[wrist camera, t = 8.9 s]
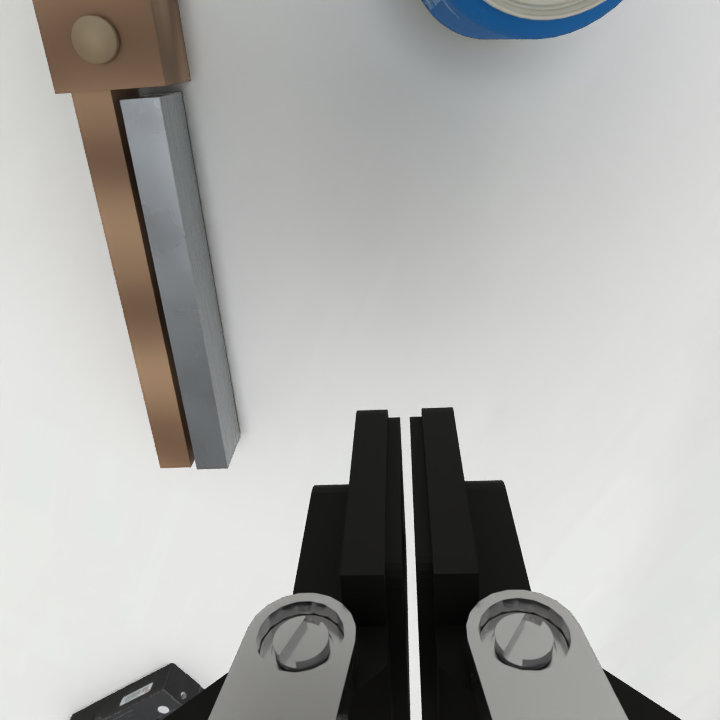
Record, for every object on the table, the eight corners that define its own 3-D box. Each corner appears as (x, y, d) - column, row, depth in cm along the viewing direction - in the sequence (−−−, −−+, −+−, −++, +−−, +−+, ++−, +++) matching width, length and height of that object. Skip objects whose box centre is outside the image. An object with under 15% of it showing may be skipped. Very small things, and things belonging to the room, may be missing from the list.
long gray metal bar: (145, 94, 29) (119, 99, 26) (181, 91, 29) (158, 97, 26) (211, 437, 36) (197, 469, 34) (240, 436, 36) (227, 468, 34)
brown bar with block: (71, -3, 27) (21, -10, 24) (175, -12, 27) (141, -20, 23) (170, 436, 37) (145, 481, 33) (248, 434, 36) (232, 478, 33)
